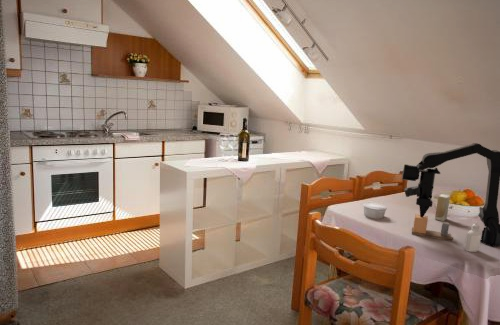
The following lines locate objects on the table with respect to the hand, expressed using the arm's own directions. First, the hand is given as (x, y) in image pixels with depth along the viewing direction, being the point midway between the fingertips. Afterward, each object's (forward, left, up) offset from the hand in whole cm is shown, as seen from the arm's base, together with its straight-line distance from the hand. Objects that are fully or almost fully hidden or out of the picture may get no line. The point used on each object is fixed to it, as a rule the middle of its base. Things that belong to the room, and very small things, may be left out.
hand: (421, 216), depth 180 cm
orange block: (0, 0, -7) cm, 6 cm away
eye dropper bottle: (-22, -6, -8) cm, 24 cm away
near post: (-7, -7, -8) cm, 12 cm away
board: (-4, -4, -8) cm, 9 cm away
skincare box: (+14, -28, -8) cm, 32 cm away
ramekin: (+26, +4, -8) cm, 28 cm away
